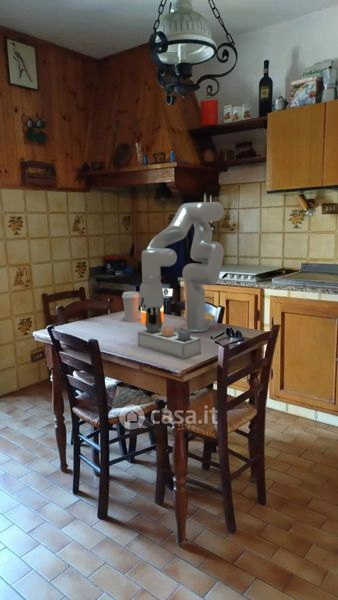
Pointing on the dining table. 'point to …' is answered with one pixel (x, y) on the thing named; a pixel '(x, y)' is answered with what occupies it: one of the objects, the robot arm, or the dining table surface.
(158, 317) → the squeeze bottle
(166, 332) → the middle knob
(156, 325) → the knob
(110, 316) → the dining table surface
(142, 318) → the orange juice
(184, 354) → the grey rectangular box
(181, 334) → the knob
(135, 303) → the coffee cup
